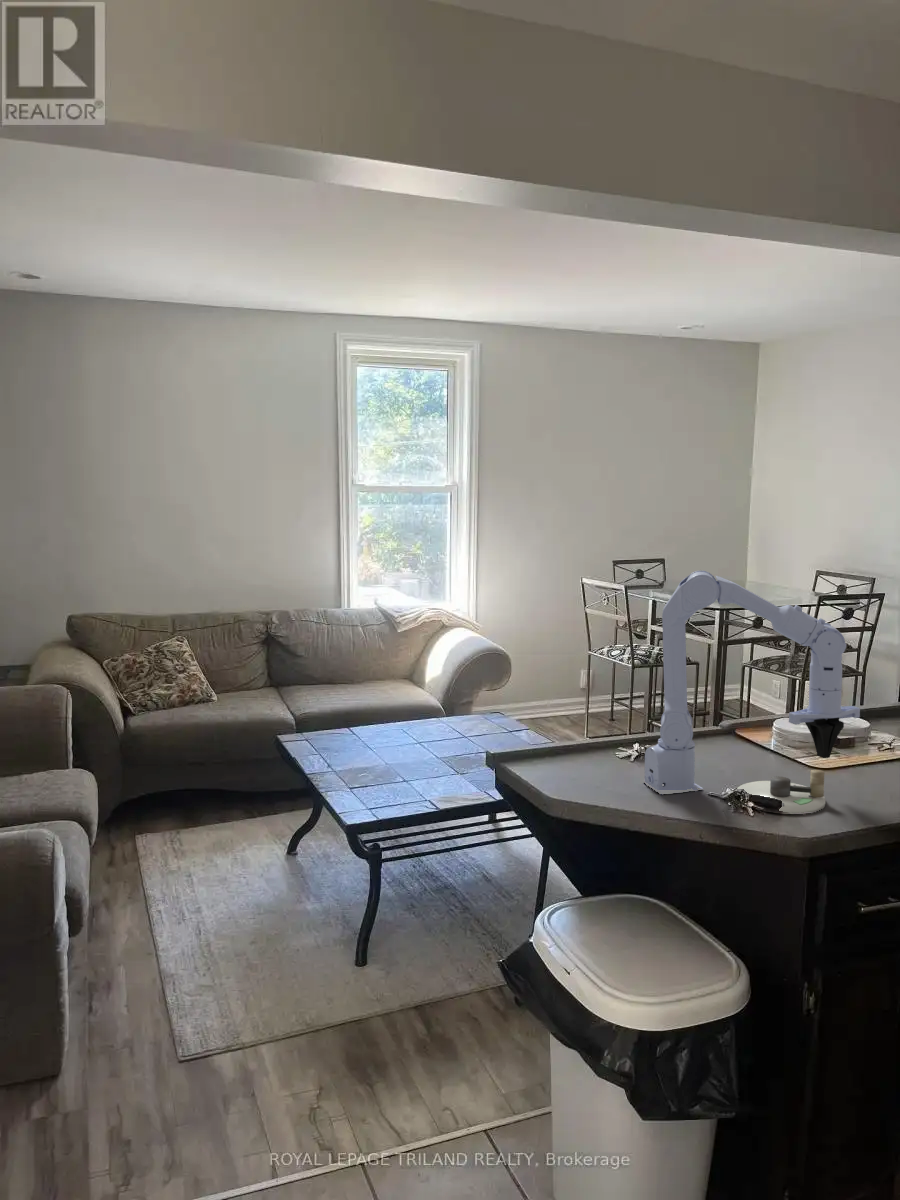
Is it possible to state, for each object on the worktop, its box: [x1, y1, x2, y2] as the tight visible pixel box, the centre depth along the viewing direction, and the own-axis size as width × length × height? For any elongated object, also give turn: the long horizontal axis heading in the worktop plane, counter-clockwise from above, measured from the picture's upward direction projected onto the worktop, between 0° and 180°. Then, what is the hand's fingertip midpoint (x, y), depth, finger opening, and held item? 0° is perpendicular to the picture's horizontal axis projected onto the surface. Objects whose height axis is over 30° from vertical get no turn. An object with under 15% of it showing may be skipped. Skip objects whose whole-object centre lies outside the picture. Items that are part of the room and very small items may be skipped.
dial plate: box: [736, 780, 826, 813], centre depth 166 cm, size 16×16×1 cm
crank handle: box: [769, 769, 825, 797], centre depth 164 cm, size 10×4×5 cm, turn 71°
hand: (823, 756), depth 167 cm, fingers closed
